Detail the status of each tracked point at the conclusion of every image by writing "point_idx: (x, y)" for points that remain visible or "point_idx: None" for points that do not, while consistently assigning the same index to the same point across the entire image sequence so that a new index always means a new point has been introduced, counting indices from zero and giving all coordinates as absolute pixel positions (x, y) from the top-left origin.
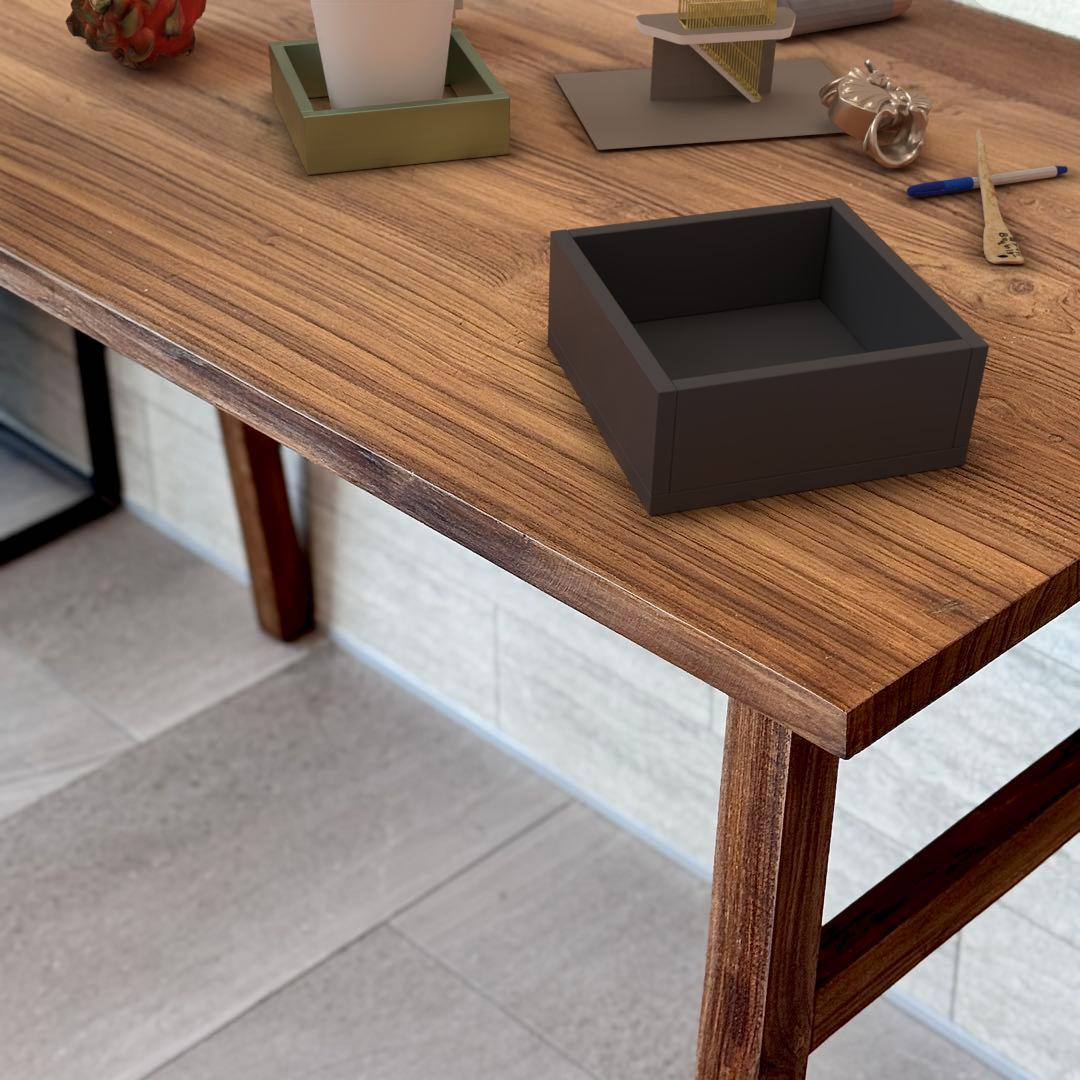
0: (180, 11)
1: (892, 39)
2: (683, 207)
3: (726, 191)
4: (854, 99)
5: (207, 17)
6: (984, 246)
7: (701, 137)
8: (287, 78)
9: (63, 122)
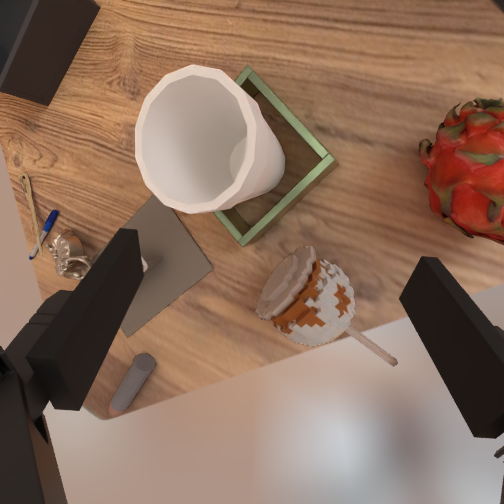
0: (423, 157)
1: (115, 374)
2: (111, 156)
3: (105, 181)
4: (61, 240)
5: (472, 272)
6: (28, 181)
7: (130, 226)
8: (288, 110)
9: (456, 41)
